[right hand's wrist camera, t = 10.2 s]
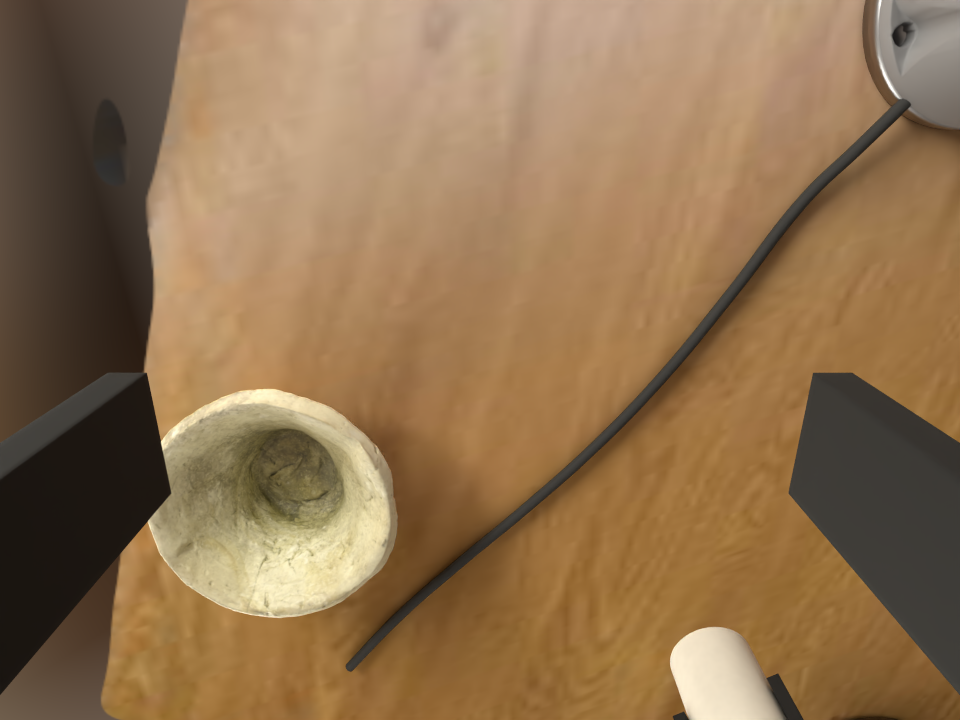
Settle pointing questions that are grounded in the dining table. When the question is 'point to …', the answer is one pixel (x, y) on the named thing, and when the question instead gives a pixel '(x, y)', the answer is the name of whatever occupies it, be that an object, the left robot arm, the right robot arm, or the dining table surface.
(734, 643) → the canister
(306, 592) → the bowl
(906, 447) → the right robot arm
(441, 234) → the dining table surface
